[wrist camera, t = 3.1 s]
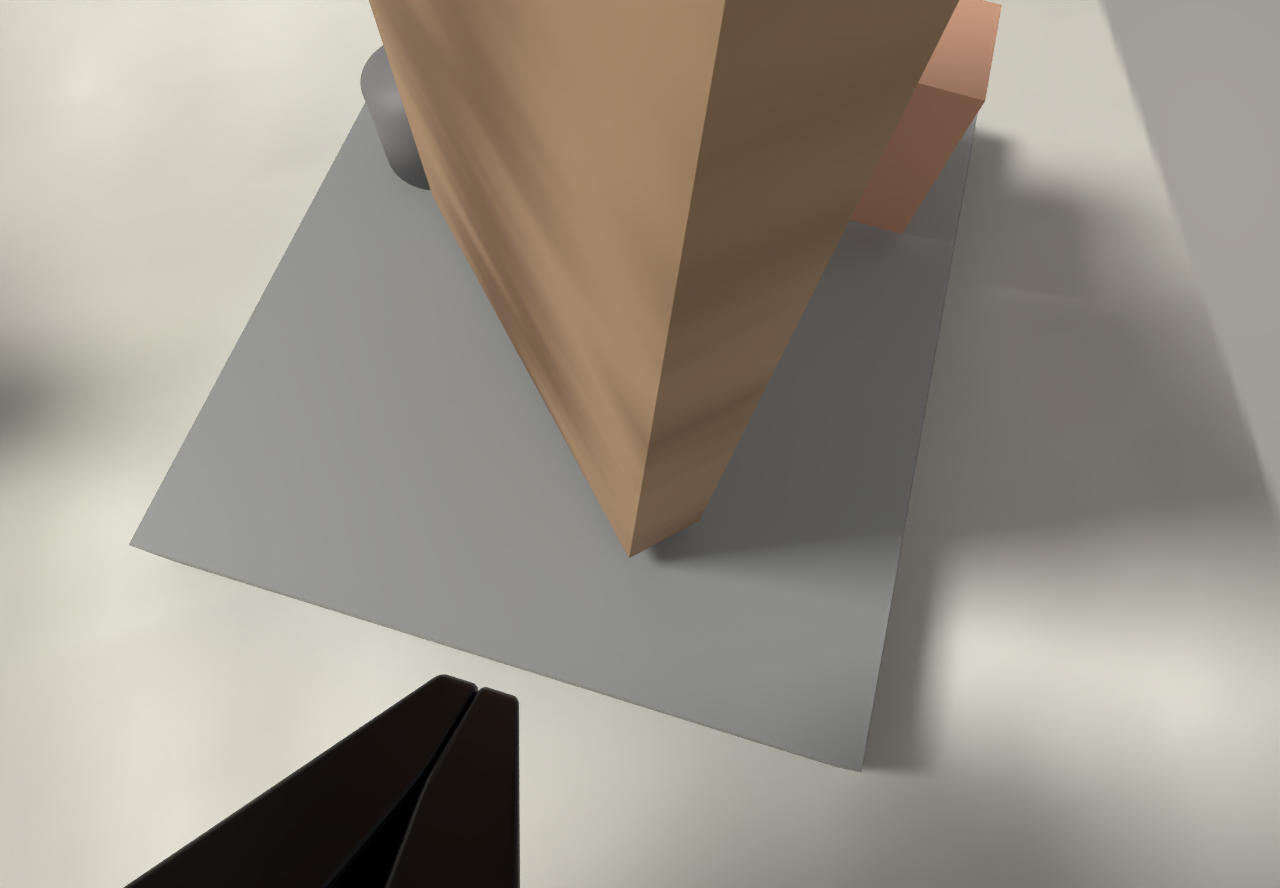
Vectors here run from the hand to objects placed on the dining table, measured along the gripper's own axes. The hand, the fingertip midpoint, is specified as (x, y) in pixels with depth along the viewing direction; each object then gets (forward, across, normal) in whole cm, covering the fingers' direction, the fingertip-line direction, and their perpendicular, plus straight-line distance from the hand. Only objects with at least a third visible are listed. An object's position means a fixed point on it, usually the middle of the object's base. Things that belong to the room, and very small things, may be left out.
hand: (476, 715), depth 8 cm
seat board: (+12, +1, -1) cm, 12 cm away
